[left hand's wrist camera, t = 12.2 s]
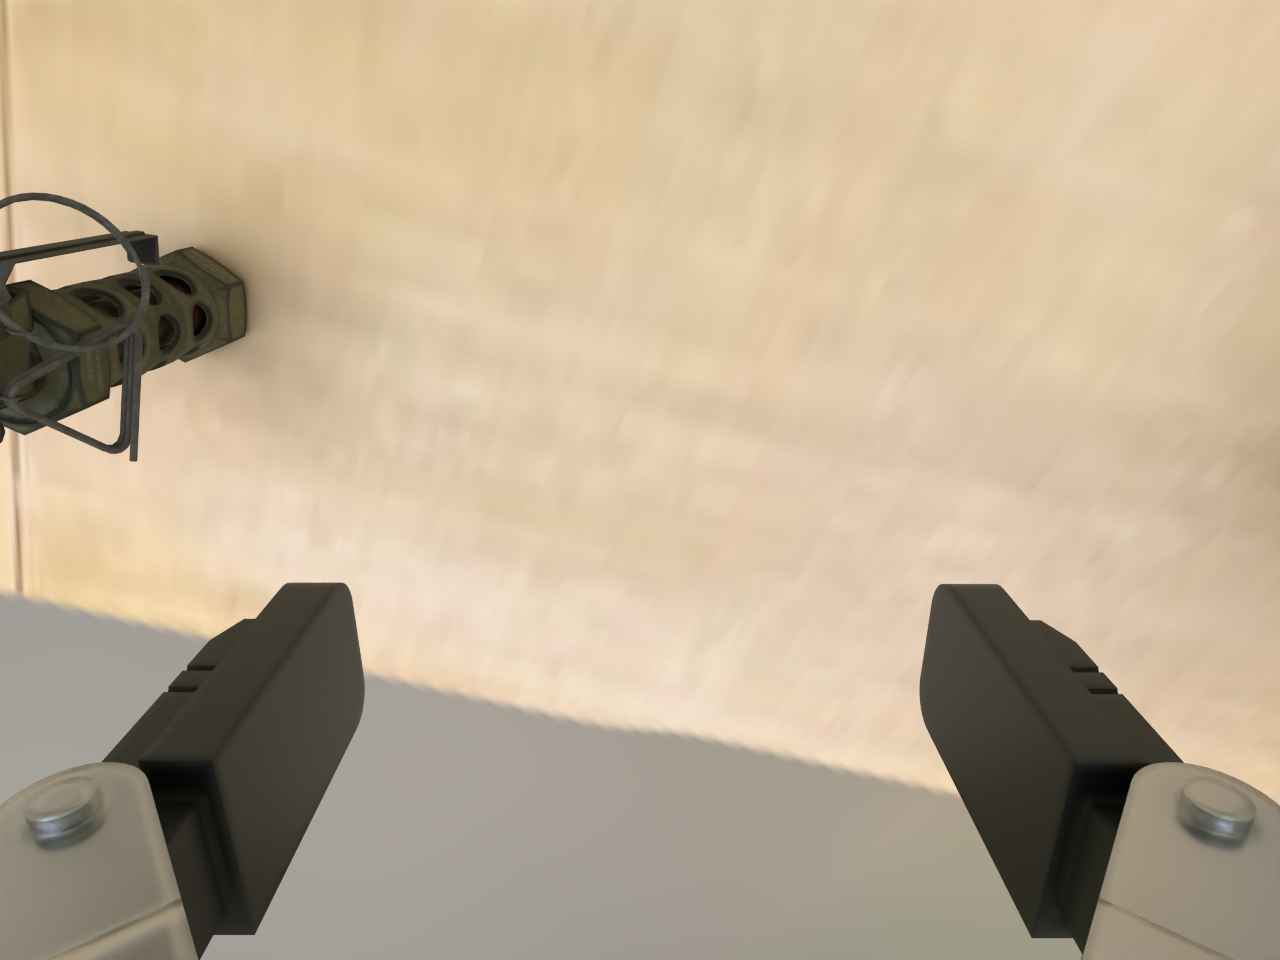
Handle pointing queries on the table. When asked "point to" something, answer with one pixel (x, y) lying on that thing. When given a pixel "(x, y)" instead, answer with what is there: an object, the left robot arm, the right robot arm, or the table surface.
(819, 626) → the table surface
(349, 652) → the left robot arm
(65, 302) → the grenade
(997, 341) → the table surface
